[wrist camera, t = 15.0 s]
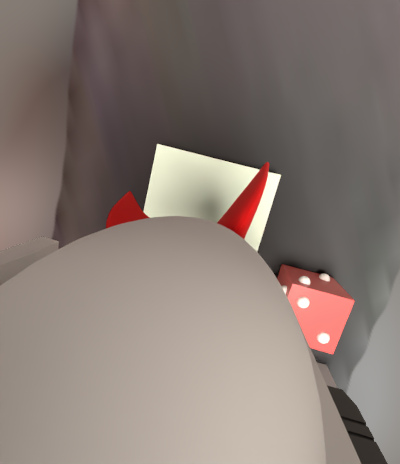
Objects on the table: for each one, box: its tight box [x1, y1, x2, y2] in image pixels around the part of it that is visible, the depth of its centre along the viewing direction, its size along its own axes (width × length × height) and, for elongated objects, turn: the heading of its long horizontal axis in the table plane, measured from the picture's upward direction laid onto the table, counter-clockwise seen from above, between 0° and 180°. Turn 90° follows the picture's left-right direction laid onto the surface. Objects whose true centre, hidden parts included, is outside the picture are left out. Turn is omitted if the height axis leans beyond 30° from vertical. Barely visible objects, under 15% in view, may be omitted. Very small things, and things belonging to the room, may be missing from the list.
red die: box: [277, 264, 355, 354], centre depth 31 cm, size 7×7×7 cm
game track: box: [144, 144, 281, 251], centre depth 34 cm, size 27×13×2 cm, turn 166°
